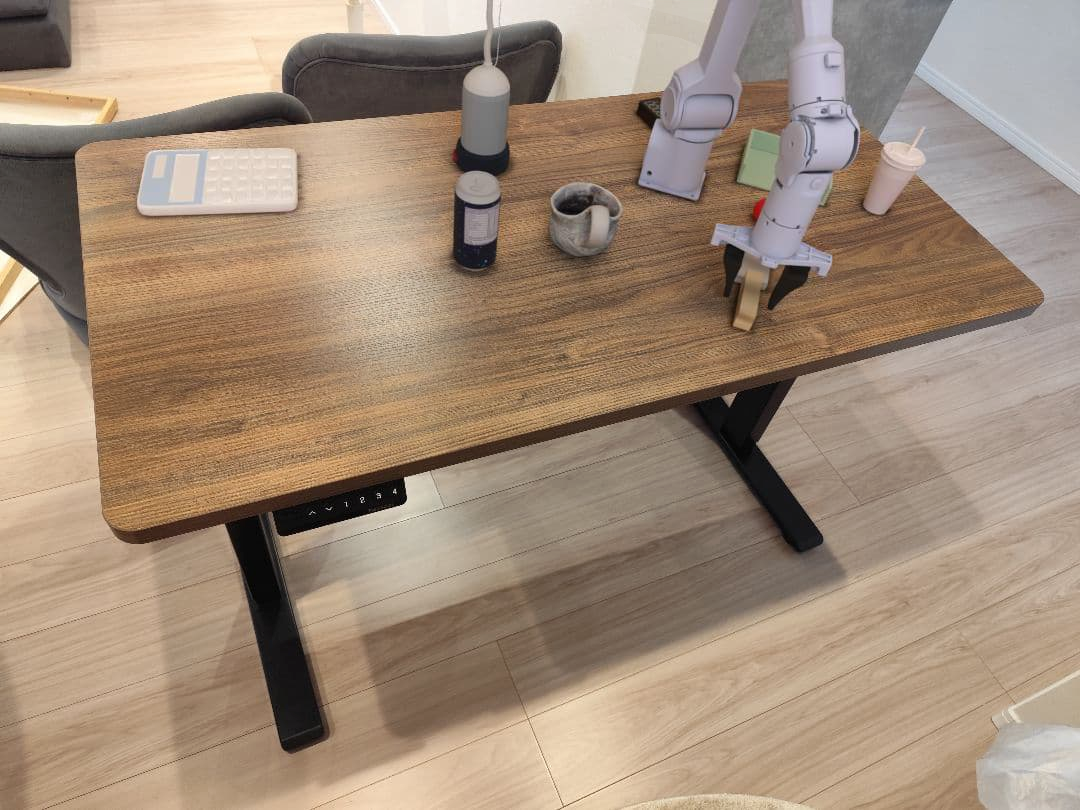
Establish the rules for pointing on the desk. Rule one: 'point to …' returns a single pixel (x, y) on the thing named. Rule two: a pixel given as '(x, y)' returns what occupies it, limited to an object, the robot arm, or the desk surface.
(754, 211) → the red ball
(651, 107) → the multiport hub
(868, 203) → the smoothie
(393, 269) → the desk surface
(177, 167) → the calculator
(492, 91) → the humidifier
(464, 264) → the beverage can
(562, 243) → the mug
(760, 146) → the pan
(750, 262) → the fork
